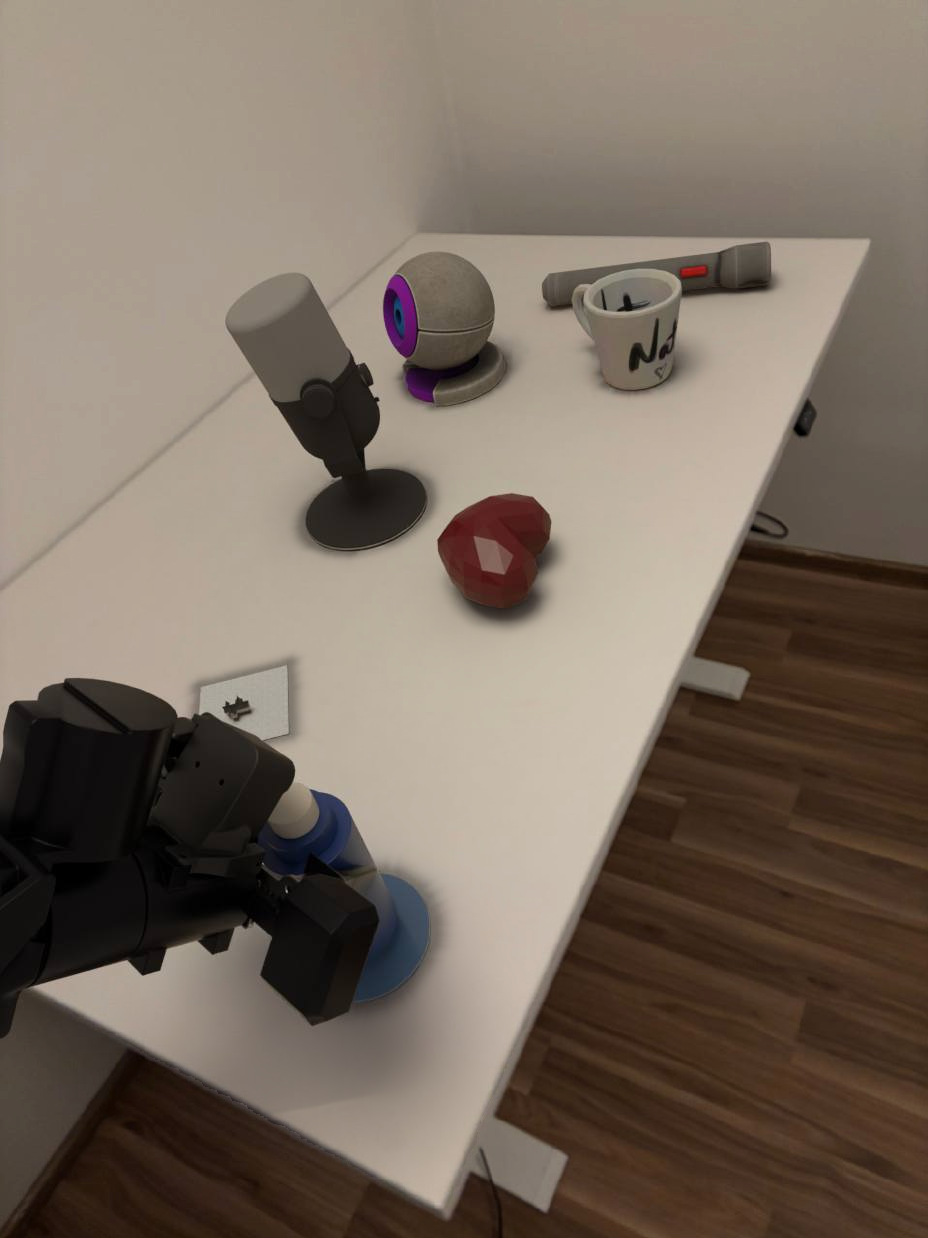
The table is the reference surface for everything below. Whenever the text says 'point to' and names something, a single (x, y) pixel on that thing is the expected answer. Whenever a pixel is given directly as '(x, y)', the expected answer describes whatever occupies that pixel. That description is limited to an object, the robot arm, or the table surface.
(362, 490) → the microphone
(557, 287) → the flashlight
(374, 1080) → the table surface
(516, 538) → the heart
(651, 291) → the mug
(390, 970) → the blue coaster
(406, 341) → the webcam
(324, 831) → the blue bottle
